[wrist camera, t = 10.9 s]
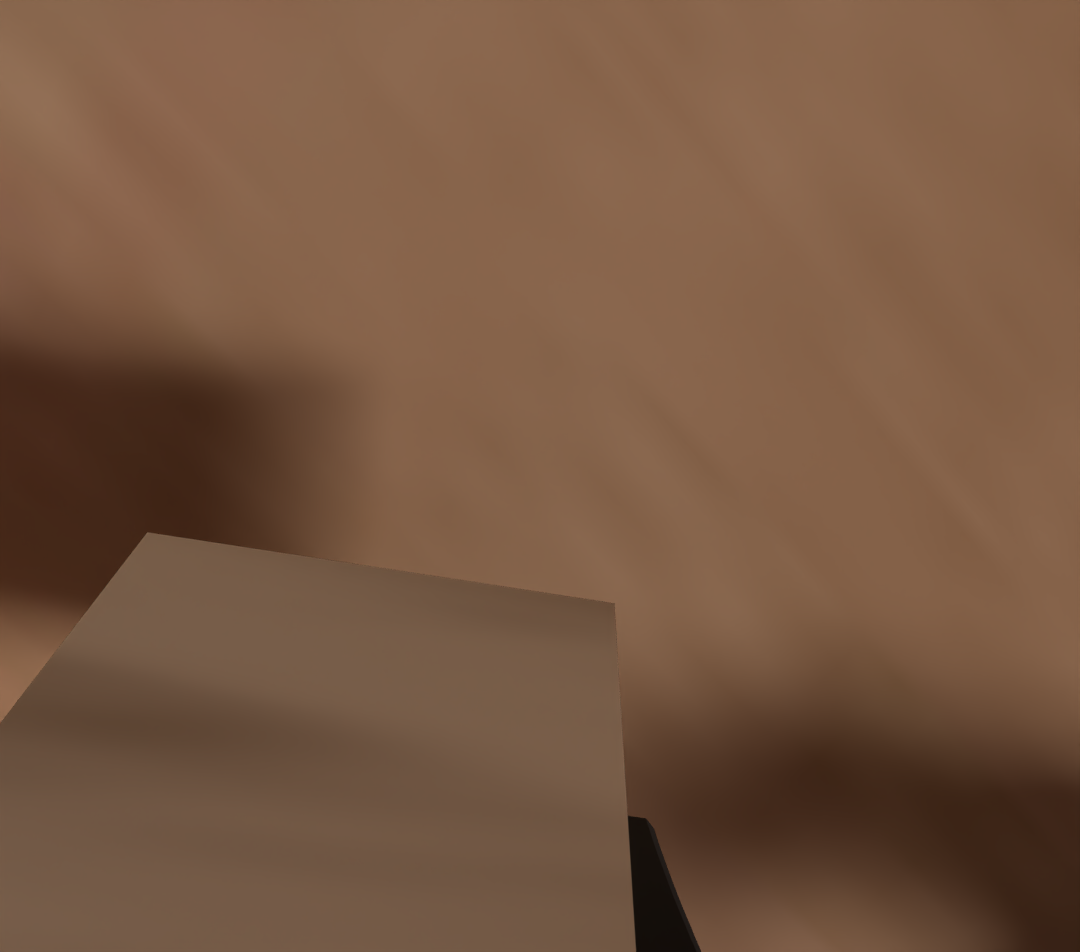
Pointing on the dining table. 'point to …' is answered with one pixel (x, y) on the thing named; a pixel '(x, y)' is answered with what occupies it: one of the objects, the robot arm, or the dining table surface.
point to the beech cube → (317, 765)
